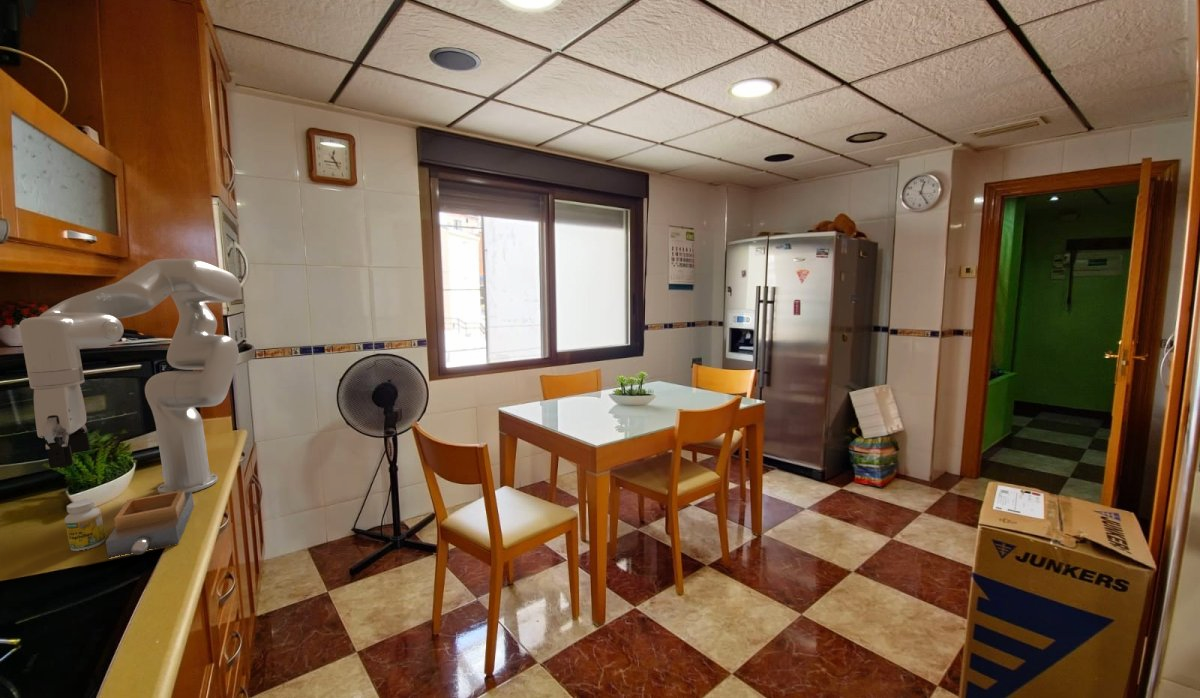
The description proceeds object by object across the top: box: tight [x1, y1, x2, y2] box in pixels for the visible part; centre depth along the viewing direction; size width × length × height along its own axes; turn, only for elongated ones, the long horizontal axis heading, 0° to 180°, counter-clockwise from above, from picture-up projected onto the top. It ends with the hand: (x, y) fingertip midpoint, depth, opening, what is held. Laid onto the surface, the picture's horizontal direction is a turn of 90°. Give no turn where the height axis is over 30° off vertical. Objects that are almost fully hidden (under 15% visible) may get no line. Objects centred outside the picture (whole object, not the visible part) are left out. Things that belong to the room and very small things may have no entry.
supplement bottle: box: [64, 498, 107, 552], centre depth 106 cm, size 5×5×10 cm
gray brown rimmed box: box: [105, 490, 195, 558], centre depth 111 cm, size 23×11×6 cm, turn 31°
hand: (71, 458), depth 104 cm, fingers open, 9 cm apart
